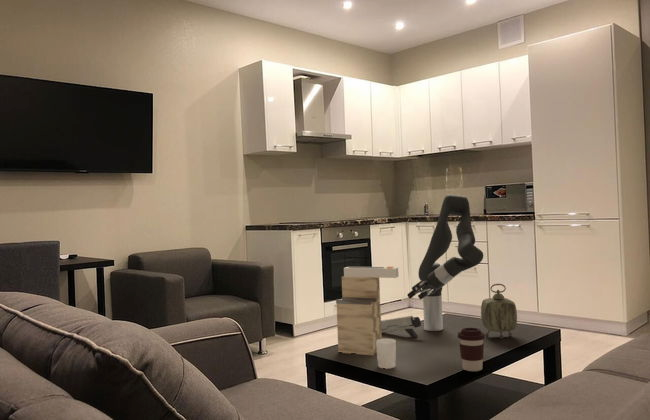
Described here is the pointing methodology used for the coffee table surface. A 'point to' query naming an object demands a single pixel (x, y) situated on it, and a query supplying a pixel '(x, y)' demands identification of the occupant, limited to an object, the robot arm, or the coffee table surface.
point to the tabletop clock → (498, 313)
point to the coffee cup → (471, 348)
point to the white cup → (386, 353)
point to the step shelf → (359, 315)
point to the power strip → (371, 272)
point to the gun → (401, 325)
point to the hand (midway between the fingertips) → (413, 297)
